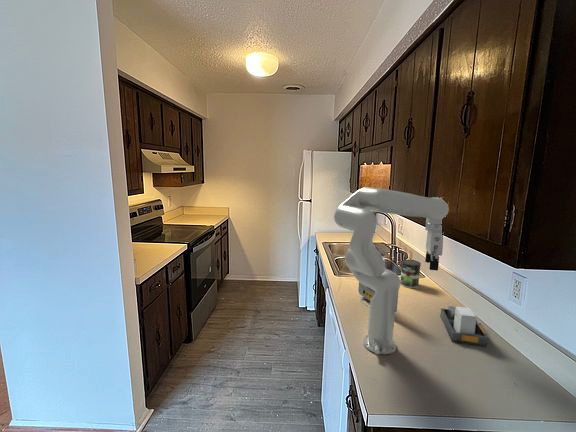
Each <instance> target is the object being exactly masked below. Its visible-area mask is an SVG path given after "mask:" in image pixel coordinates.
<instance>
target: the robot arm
mask: <svg viewBox="0 0 576 432" xmlns="http://www.w3.org/2000/svg"><path fill="white" fill-rule="evenodd" d="M442 198H443V197H440V198H439V197H438V196H436V197H435V196H434V197H427V196H421V195H417V194H414V193H410V192H409V193H408V192H402V191H399V190H398V191H397V190H391V189H387V188H382V187H381V188H379V187H372V186H371V187H370V186H364V187H362V188H360V189H358V190H356V191H355V192H354V193H352V194H351V195H350V196H349V197H347V199H345V200H344V201H343V202H342V203H341V204H340V205H339V206H337V208H336V210H335V212H334V215H333V219H334V222H335V224H336V225H337V226H338V227H340V228H341V229H345V230H348V231H352V232H353V233H352V236H351V239H350V242H349V244H348V249H347V250H346V252H345V254H344V261H345V265H346V266H347V268H348V270H349V271H350V272H351V274H352V275H353V276H354V277H355V279H356V280H357V281H358V283H359V282H360V283H361V284H363V285H365V286H367V287H369V288H371V289H372V290H374V291H375V295H374V296H373V297H372V298H371V300H370V301H369V304H370V308H368V325H367V326H368V328H367V335H365V336H364V337H363V340H362V344H363V346H364V348H366V349H367V350H369V351H371V352H372V353H374V354H376V355H391V354H394V353H395V352H396V351H397V343H396V341H395V340H394V339H393V338H394V327H395V317H396V316H395V315H396V314H395V306H396V299H397V294H398V295H399V292H398V291H400V287H401V284H400V280H401V277H400V276H398V274H396V273H395V272H394V271H393V270H391V269H388V268H386V263H385V260H384V258H383V256H382V255H381V253H380V252H379V250H378V249H377V247H376V245H375V244H374V242H373V239H374V234H375V232H376V229H377V226H378V219H377V216H376V214H375V213H374V212H376V213H382V214H391V215H399V216H403V217H404V216H406V217H415V218H416V217H417V218H425V219H426V220H425V226H424V227H425V228H424V229H425V231H427V233H426V241H425V242H426V243H425V249H426V252H425V259H424V261H425V263H428V264H429V268H428V269H429V270H430V271H437V272H438V271H439V267H440V266H439V263H440V256H441V257H442V256H443V251H444V250H443V248H444V232H443V233H442V225H441V224H442V219H443V218H444V217H446V215H447V216H448V214H449V211H450V208H449V203H448V204H447V203H446V202H445V201H444V200H443V199H442ZM442 234H443V235H442Z"/></svg>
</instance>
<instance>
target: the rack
mask: <svg viewBox="0 0 576 432" xmlns="http://www.w3.org/2000/svg"><path fill="white" fill-rule="evenodd" d="M439 314H440V319H441V321H442V323H443V325H444V327H445V329H446V331H447V335H448V336H449V339H450V341H451V342H453V343H458V344H459V343H460V344H465V345H472V346H478V347H485V348H487V347H488V341H489V337H488V336H487V333H486V331H485V330H484V328H483V327H482V326H481V325H480V324H479V322H478V320H477V319H476V325H475V333H474V335H472V334H465V333H458V332H455V330H454V329H453V327H454V320H449V319H448V318H447V314H448V308H440V313H439Z"/></svg>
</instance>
